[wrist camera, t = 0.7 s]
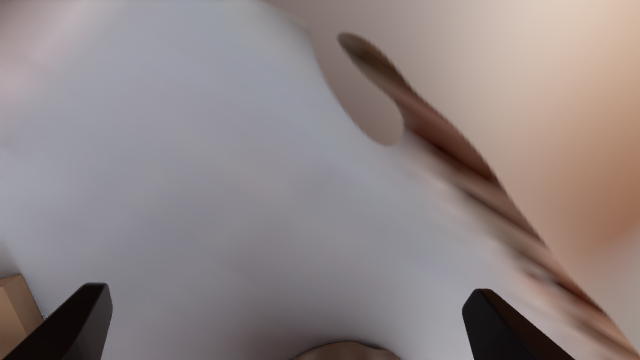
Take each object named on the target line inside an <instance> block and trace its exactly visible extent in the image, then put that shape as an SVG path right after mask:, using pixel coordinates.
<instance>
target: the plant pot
mask: <svg viewBox="0 0 640 360" xmlns="http://www.w3.org/2000/svg"><path fill="white" fill-rule="evenodd" d="M293 360H401V359H400V358H398V357H397V356H396V355H394V354H393V353H391V352H389V351H387V350H385V349H373V348H370V347H367V346H364V345H361V344H359V343H357V342H338V343H331V344H327V345H323V346H320V347H317V348H315V349H312V350H309V351H307V352H305V353H303V354H301V355H299V356H297V357H296V358H294V359H293Z"/></svg>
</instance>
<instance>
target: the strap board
mask: <svg viewBox="0 0 640 360" xmlns="http://www.w3.org/2000/svg"><path fill="white" fill-rule="evenodd" d="M43 321H44V320H43V318H42V316H41V314H40V312H39V310H38V308H37V306H36V303H35V301H34V299H33V297H32V295H31V293H30V291H29V289H28V287H27V285H26V283H25V281H24V278H23V276H22V274H18V275H14V276H10V277H6V278H1V279H0V360H2V359H3V358H4V357H5V356H6V355H7V354H8V353H9V352H10V351H11V350H13V349H14V348H15V347H16V346H17V345H18V344H19V343H20V342H21V341H22V340H23V339H25V338H26V337H27V336H28V335H29V334H30V333H31V332H32V331H33V330H34V329H35V328H37V327H38V326H39V325H40V324H41V323H42V322H43Z"/></svg>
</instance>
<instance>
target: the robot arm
mask: <svg viewBox="0 0 640 360" xmlns="http://www.w3.org/2000/svg"><path fill="white" fill-rule="evenodd" d="M112 311H113V305H112V301H111V296H110V291H109V287H108V285H107V284H106V283H92V282H90V283H86V284H84V285H82V286H81V287H80V288H79V289H78V290H77V291H76V292H75V293H74V294H72V295H71V296H70V297H69V298H68V299H67V300H66V301H65V302H64V303H63V304H62V305H60V306H59V307H58V308H57V309H56V310H55V311H54V312H53V313H52V314H51V315H50V316H49V317H47V318H46V319H45V320H44V321H43V322H42V323H41V324H40V325H39V326H38V327H37V328H35V329H34V330H33V331H32V332H31V333H30V334H29V335H28V336H27V337H26V338H25V339H23V340H22V341H21V342H20V343H19V344H18V345H17V346H16V347H15V348H14V349H13V350H11V351H10V352H9V353H8V354H7V355H6V356H5V357H4V358H3V359H2V360H101V356H102V352H103V348H104V344H105V341H106V337H107V333H108V329H109V325H110V321H111V317H112ZM462 316H463V320H464V324H465V327H466V331H467V335H468V339H469V342H470V346H471V350H472V354H473V357H474V360H575V359H574V358H573V357H571V356H570V355H569V354H568V353H567V352H565V351H564V350H563V349H562V348H561V347H559V346H558V345H557V344H556V343H555V342H553V341H552V340H551V339H550V338H549V337H548V336H546V335H545V334H544V333H543V332H542V331H540V330H539V329H538V328H537V327H536V326H534V325H533V324H532V323H531V322H530V321H528V320H527V319H526V318H525V317H524V316H523V315H521V314H520V313H519V312H518V311H517V310H515V309H514V308H513V307H512V306H511V305H509V304H508V303H507V302H506V301H505V300H503V299H502V298H501V297H500V296H499V295H498V294H496V293H495V292H494V291H492V290H491V289H475V290H474V291H473V292H472V293H471V295H470V296H469V298H468V299H467V301H466V302H465V304H464V305H463V308H462Z"/></svg>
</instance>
